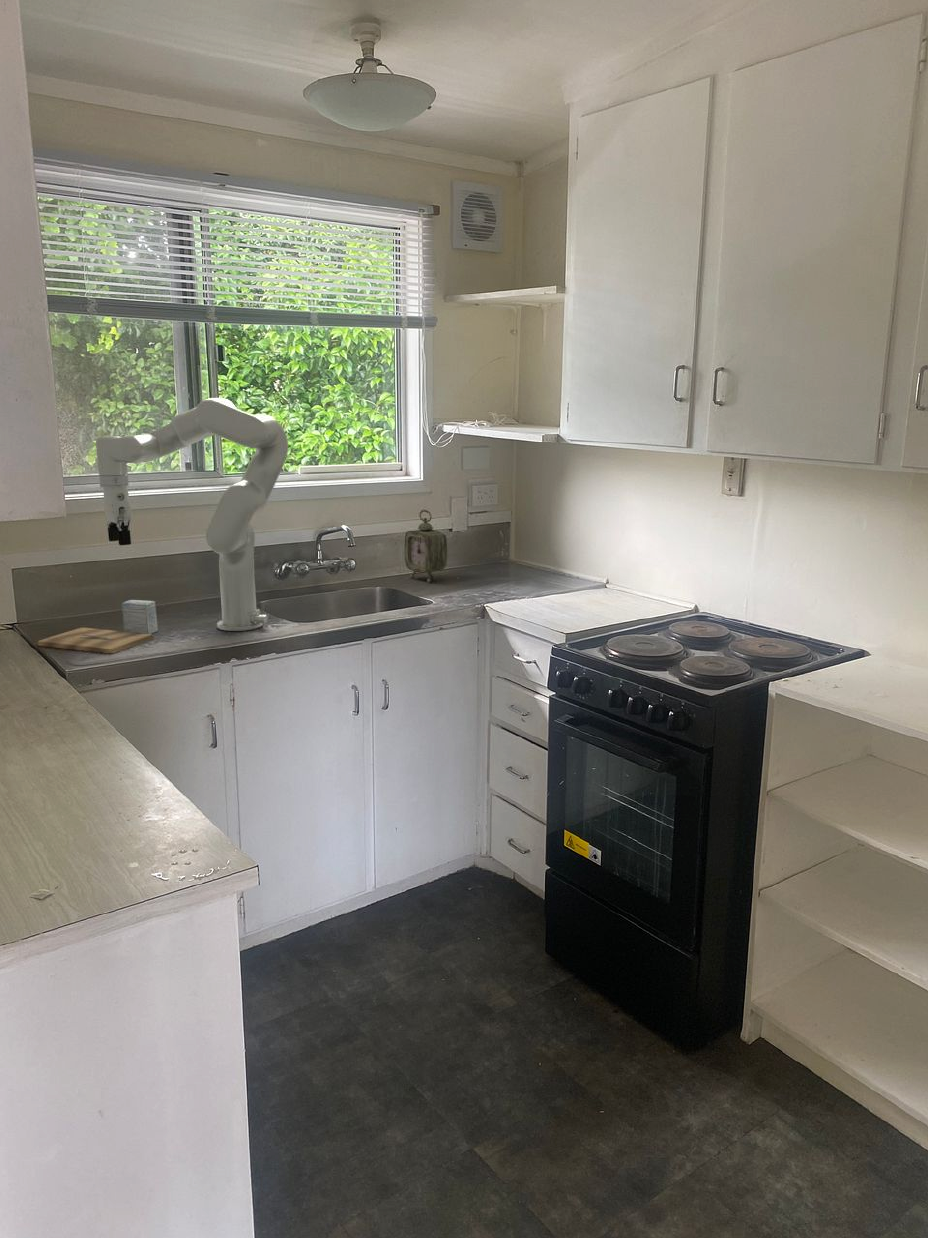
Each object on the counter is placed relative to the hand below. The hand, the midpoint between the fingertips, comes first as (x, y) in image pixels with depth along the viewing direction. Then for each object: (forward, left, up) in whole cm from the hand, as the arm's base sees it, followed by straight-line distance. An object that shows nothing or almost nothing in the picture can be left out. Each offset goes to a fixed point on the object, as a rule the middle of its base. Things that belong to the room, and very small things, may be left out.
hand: (119, 542), depth 260 cm
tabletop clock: (-56, -90, -24) cm, 109 cm away
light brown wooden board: (-6, +20, -24) cm, 31 cm away
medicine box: (-10, +7, -24) cm, 27 cm away
